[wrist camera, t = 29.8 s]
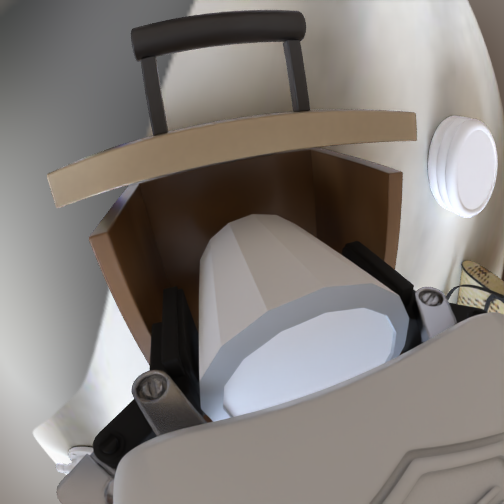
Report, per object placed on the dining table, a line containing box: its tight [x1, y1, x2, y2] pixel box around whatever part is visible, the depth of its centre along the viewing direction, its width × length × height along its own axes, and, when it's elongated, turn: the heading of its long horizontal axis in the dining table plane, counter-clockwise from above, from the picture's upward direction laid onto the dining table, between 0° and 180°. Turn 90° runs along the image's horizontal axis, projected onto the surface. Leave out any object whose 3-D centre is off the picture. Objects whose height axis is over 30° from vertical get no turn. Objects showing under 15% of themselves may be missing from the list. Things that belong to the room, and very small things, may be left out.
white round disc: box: [428, 115, 498, 218], centre depth 20 cm, size 10×10×4 cm
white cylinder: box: [199, 214, 409, 422], centre depth 10 cm, size 7×7×7 cm
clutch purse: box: [446, 260, 504, 314], centre depth 28 cm, size 30×7×15 cm, turn 22°
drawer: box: [47, 10, 417, 365], centre depth 14 cm, size 22×13×9 cm, turn 8°
